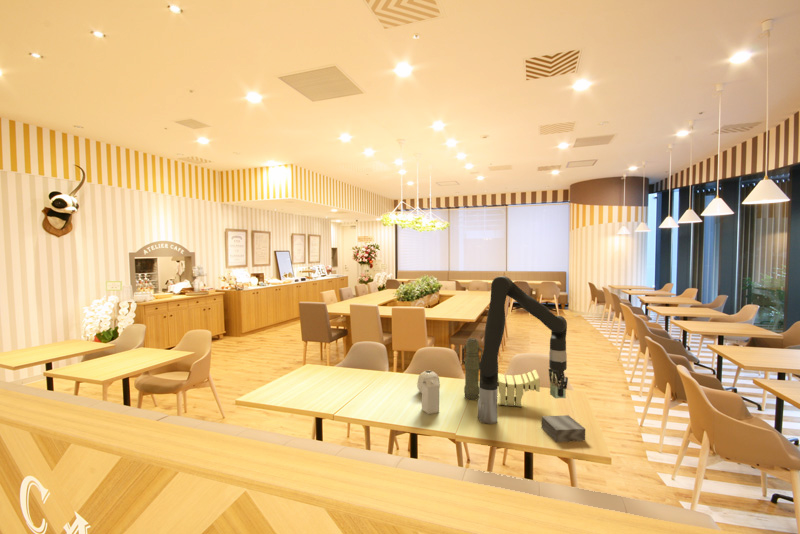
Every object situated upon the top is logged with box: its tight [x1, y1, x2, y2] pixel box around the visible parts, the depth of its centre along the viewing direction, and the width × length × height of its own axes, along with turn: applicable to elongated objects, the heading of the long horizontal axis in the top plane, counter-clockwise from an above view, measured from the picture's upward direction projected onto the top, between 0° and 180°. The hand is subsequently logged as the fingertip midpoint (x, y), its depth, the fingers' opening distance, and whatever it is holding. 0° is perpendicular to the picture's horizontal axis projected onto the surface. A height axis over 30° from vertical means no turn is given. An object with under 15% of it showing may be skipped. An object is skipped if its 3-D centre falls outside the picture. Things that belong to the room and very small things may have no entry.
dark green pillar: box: [461, 338, 483, 401], centre depth 218 cm, size 9×12×35 cm
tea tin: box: [549, 380, 567, 399], centre depth 172 cm, size 5×5×6 cm
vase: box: [416, 369, 441, 394], centre depth 224 cm, size 14×14×13 cm
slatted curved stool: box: [497, 369, 541, 408], centre depth 211 cm, size 30×16×18 cm, turn 78°
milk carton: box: [421, 376, 440, 415], centre depth 199 cm, size 7×7×19 cm
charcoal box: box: [541, 414, 586, 443], centre depth 174 cm, size 14×14×6 cm
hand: (557, 394), depth 172 cm, fingers closed on tea tin, 5 cm apart
